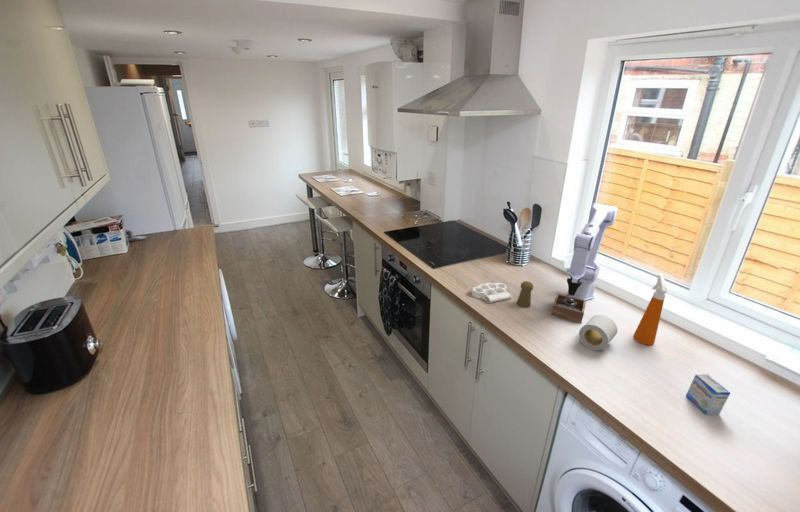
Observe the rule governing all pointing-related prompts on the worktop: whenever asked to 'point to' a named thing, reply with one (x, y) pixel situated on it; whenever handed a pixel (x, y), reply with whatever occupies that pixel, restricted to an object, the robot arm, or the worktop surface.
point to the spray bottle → (652, 314)
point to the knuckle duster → (491, 292)
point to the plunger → (569, 303)
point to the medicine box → (707, 394)
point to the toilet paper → (598, 332)
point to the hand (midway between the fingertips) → (572, 291)
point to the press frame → (568, 309)
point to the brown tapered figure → (525, 295)
